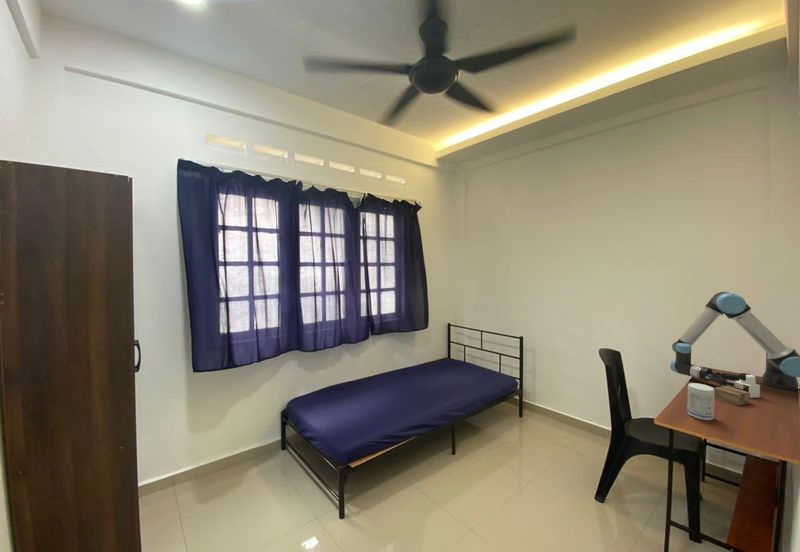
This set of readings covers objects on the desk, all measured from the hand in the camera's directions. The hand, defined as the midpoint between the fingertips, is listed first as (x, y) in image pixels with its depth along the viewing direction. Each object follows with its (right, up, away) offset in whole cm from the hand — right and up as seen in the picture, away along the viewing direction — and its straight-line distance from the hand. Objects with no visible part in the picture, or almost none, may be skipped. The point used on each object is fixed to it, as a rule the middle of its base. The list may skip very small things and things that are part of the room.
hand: (749, 384), depth 180 cm
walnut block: (-15, -7, -5) cm, 18 cm away
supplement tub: (-48, -8, -22) cm, 54 cm away
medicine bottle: (0, -7, +1) cm, 7 cm away
